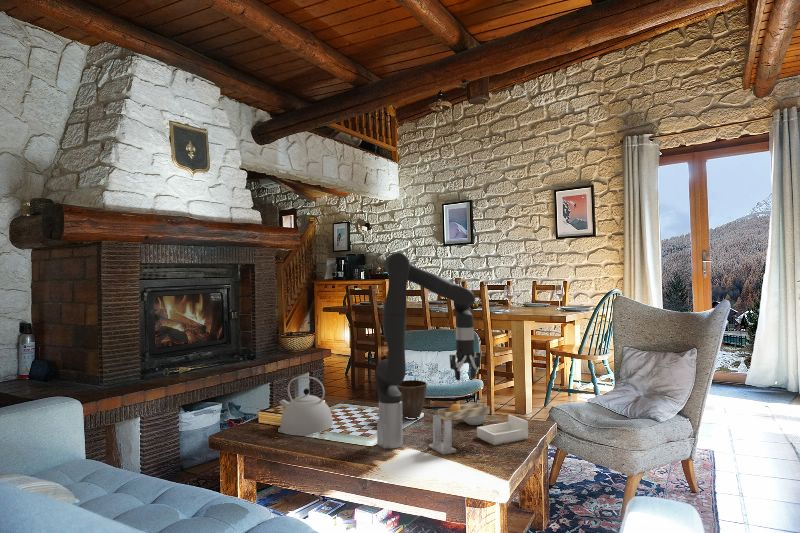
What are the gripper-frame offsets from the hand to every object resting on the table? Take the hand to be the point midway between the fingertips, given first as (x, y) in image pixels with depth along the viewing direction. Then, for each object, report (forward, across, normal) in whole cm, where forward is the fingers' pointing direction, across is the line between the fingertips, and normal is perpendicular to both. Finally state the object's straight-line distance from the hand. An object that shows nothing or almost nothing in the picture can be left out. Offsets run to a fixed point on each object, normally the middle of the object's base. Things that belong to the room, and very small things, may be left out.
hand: (465, 378), depth 212 cm
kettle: (+24, -54, +47) cm, 75 cm away
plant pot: (+24, -6, +36) cm, 44 cm away
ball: (+9, -10, -8) cm, 16 cm away
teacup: (+24, +15, +16) cm, 33 cm away
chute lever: (+12, -6, -3) cm, 14 cm away
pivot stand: (+24, -16, -8) cm, 30 cm away
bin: (+24, +12, -8) cm, 28 cm away
